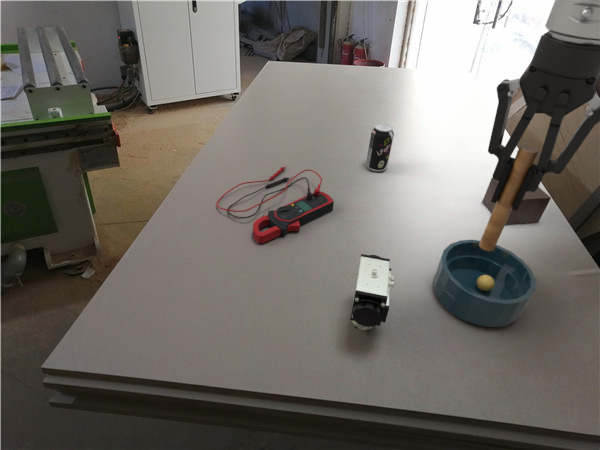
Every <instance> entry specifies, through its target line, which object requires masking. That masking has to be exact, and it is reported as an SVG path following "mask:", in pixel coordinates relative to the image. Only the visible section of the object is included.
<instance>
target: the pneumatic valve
mask: <svg viewBox="0 0 600 450" xmlns="http://www.w3.org/2000/svg"><path fill="white" fill-rule="evenodd" d="M390 261H391V259H390V258H387V257H382V256H379V255H376V254H364V253H361V254H360V257H359V263H358V270H357V273H356V278H355V285H354V290H353V291H354V292H353V297H352V304H351V310H350V317H349V320H350V321H352V323H351V324H352V326H353V327H355V328H356V327H357V329H359V330H361V331H367V330H369V331H371V330H373V329H374V327H376V326H377V327H380V326H381V324H382V323H386V321H387V318H388V314H389V311H390V301H391V300H390V297H391V296H390V295H391V288H394V285H395V282H394V281H395V276H394V275H392V268H390V263H391V262H390Z"/></svg>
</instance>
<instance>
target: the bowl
mask: <svg viewBox="0 0 600 450" xmlns="http://www.w3.org/2000/svg"><path fill="white" fill-rule="evenodd" d="M479 243H480V240H478V239H461V240H458V241H454V242H452V243H450V244H449V245H448V246H446V247H445V248H444V249H443V251H442V254H441V257H440V259H439V262H438V265H437V268H436V270H435V273H434V276H433V278H432V285H433V291H434V294H435V295H436V297H437V299H438V300H439V302H440V303H441V304H442V305H443V307H444V308H445V309H446V310H447V311H448V312H449V313H451V315H454V316H455V317H456V318H458V319H459V320H462V321H464V322H466V323H468V322H469V324H472V325H475V326H479V327H484V328H498V327H507V326H508V325H510V324H512V323H514V322H516V321H518V319H519V317H520V316H521V315H522V313H523V312H524V310H525V309H526V307H527V305H528V303H529V302H530V300H531V298H532V297H533V296H534V293H536V285H537V279H536V278H535V275H534V273H533V272H534V271H533V270H532V269H531V268H530V266H529V265H528V264H527V263H526V262H525V260H523V259H522V258H521V257H519V256H518V255H517V254H515V253H514V252H512V251H510V250H509V249H507V248H505V247H502V246H501V245H498V244H496V246H495V248H494V250H492V251H486V250H483V249H482V248H480V246H479ZM482 275H488V276H490V277H492V278H493V280H494V283H495V285H494V287H493V289H492V290H490V291H482V290H480V289H479V288H478V286H477V279H478V278H479V277H480V276H482Z"/></svg>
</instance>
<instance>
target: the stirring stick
mask: <svg viewBox="0 0 600 450" xmlns="http://www.w3.org/2000/svg"><path fill="white" fill-rule="evenodd" d="M538 154H539V149H538V148H537V147H535V146H533V145H529V144H522V145H520V146H519V148H518V150H517V152H516V156H515V157H514V158H515V160H514V162H513V165H512V167H511V169H510V172H509V174H508V176H507V179H506V181H505V184H504V186H503V188H502V191H501V193H500V195H499V198H498V200H497V202H496V205H495V207H494V209H493V212H492V213H490V216H489V219H488V222H487V223H486V224H487V225H486V226H485V228H484V230H483V234H482V236H481V237H480V240H479V241H480V243H479V246H480V248H482V249H483V250H486V251H492V250H494V248H495V246H496V245H498V244H497V243H498V241H499V239H500V237H501V235H502V232H503V231H504V228H505V226H506V225H505V224H506V222H507V219H508V217H509V215H510V213H511V211H512V207H513V205H514V203H515V201H516V198H517V196H518V194H519V192H520V190H521V187H522V185H523V183H524V181H525V178H526V176H527V174H528V172H529V170H530V168H531V167H532V165H533V164H534V163H535V160H536V158H537V157H538Z"/></svg>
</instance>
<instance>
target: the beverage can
mask: <svg viewBox="0 0 600 450" xmlns="http://www.w3.org/2000/svg"><path fill="white" fill-rule="evenodd" d="M394 133H395V132H394V131H393V126H392V125H390V124H388V123H381V122H380V123H376V124H375V125H374V127H373V128H372V129H371V132H370V138H369V142H368V143H369V144H368V150H367V156H366V160H365V161H366V162H365V166H366V168H368V169H369V170H370V171H373V172H382V171H385V170H387V168H388V166H389V165H388V164H389V161H390V160H389V159H390V155H391V150H392V145H393V140H394V136H395V134H394Z"/></svg>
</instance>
